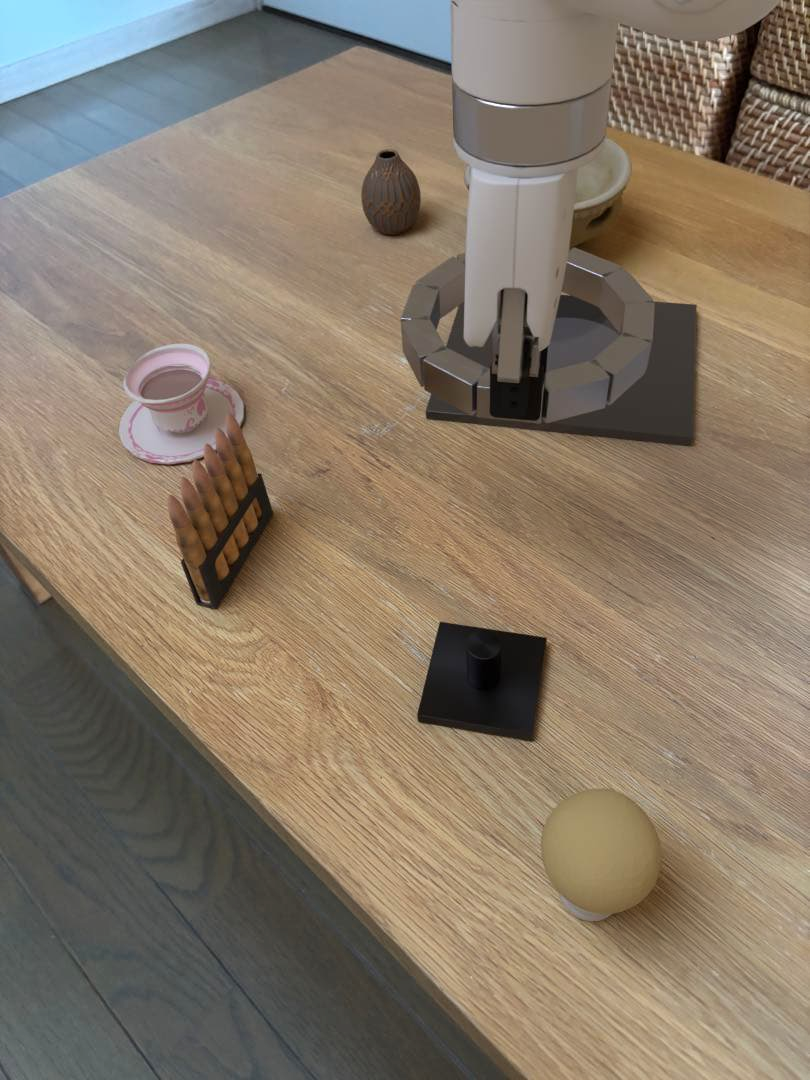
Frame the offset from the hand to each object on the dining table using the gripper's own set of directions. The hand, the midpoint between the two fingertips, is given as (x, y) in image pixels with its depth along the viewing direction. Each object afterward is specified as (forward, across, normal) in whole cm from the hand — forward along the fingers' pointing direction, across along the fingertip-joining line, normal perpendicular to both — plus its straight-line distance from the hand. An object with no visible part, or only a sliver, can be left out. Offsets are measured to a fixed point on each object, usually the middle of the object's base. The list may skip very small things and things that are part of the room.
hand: (517, 399), depth 56 cm
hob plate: (+17, -26, +2) cm, 31 cm away
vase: (+17, -49, -20) cm, 56 cm away
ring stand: (+17, +11, -1) cm, 20 cm away
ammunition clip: (+17, +3, -22) cm, 28 cm away
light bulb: (+17, +24, +8) cm, 31 cm away
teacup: (+17, -13, -33) cm, 39 cm away
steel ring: (+1, -8, 0) cm, 8 cm away
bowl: (+17, -47, -2) cm, 50 cm away
